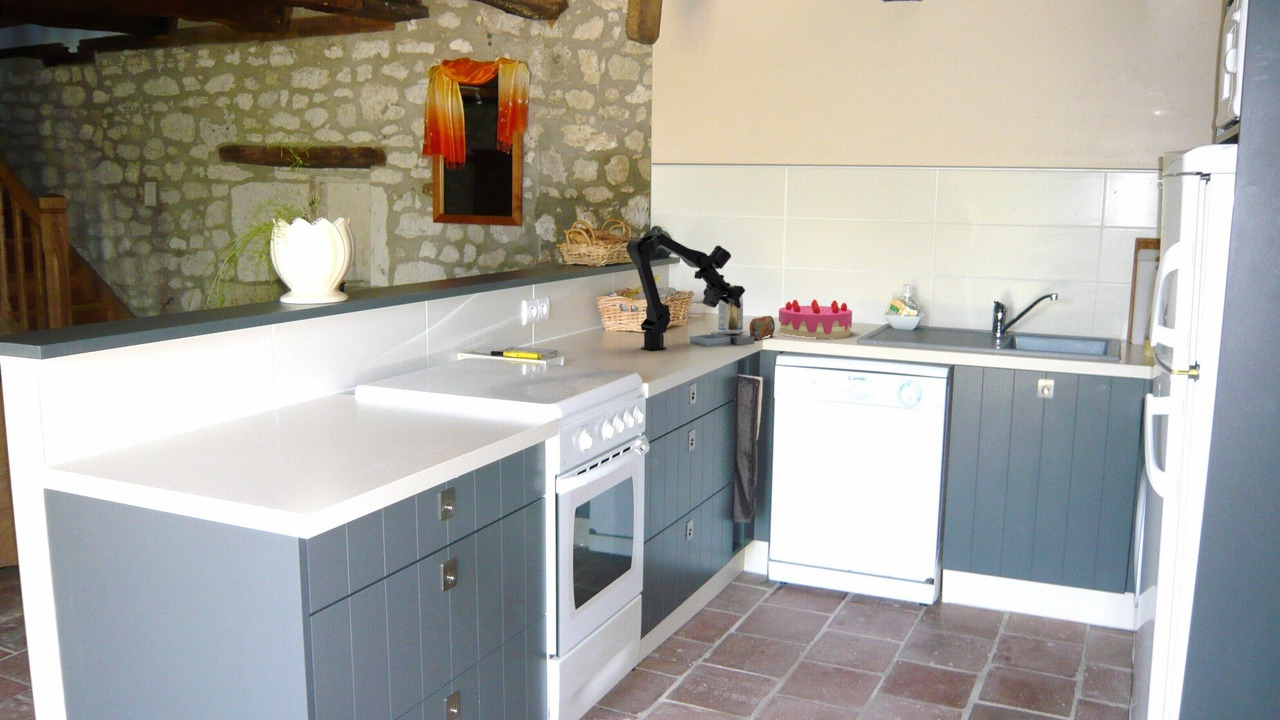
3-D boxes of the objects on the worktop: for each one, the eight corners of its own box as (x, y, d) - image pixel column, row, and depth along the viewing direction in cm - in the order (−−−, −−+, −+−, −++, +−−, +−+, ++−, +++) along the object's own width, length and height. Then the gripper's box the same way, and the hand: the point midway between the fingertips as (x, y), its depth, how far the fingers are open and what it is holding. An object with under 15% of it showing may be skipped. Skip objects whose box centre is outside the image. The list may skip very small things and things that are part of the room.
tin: (754, 341, 370) (755, 318, 369) (747, 340, 372) (748, 318, 371) (775, 336, 382) (775, 314, 381) (768, 336, 384) (768, 314, 383)
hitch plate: (736, 345, 361) (737, 338, 360) (710, 339, 374) (710, 332, 374) (754, 343, 365) (754, 336, 365) (728, 337, 378) (728, 331, 378)
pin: (733, 330, 366) (734, 286, 363) (723, 329, 369) (724, 285, 366) (742, 329, 369) (743, 286, 366) (732, 328, 372) (733, 285, 369)
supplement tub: (743, 331, 396) (744, 294, 393) (741, 334, 386) (742, 296, 384) (719, 330, 397) (719, 293, 395) (716, 334, 388) (717, 296, 386)
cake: (812, 327, 409) (813, 296, 407) (866, 335, 387) (867, 303, 385) (763, 333, 393) (764, 301, 390) (816, 341, 371) (817, 308, 369)
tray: (706, 346, 357) (706, 339, 357) (689, 342, 366) (689, 336, 366) (730, 344, 363) (730, 337, 362) (713, 340, 371) (713, 333, 371)
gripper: (684, 292, 366) (708, 320, 374) (714, 297, 351) (739, 326, 358) (702, 270, 369) (726, 298, 377) (733, 274, 354) (757, 303, 361)
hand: (736, 307), depth 368 cm, fingers closed on pin, 4 cm apart
